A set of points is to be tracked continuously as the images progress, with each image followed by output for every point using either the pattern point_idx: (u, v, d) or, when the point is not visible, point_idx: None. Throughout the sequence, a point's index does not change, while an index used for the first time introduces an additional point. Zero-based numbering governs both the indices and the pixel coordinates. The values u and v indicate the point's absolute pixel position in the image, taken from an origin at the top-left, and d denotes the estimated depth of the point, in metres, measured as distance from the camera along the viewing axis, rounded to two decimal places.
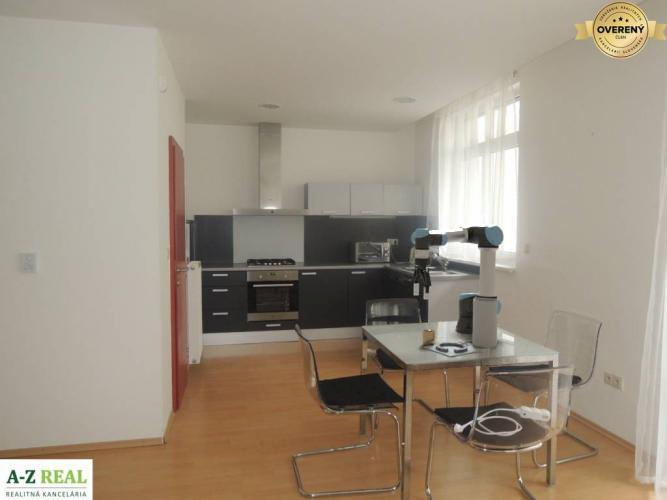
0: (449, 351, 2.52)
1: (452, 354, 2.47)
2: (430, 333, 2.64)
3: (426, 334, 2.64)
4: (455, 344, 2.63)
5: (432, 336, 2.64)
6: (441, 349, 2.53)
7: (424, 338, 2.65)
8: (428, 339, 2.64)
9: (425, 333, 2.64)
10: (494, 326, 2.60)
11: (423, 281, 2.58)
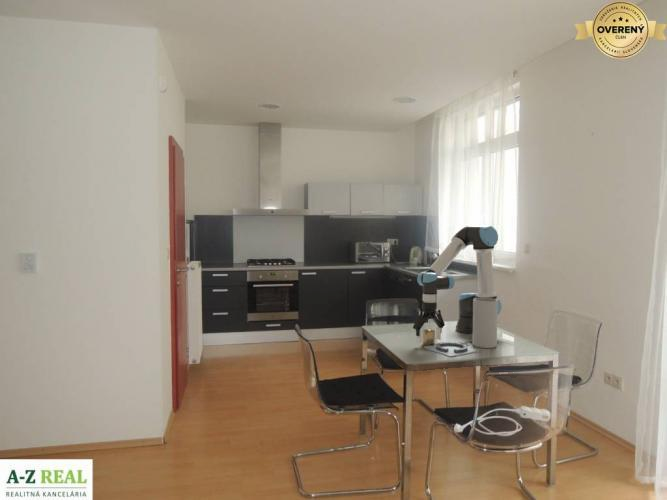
0: (449, 351, 2.52)
1: (452, 354, 2.47)
2: (430, 333, 2.64)
3: (426, 334, 2.64)
4: (455, 344, 2.63)
5: (432, 336, 2.64)
6: (441, 349, 2.53)
7: (424, 338, 2.65)
8: (428, 339, 2.64)
9: (425, 333, 2.64)
10: (494, 326, 2.60)
11: None
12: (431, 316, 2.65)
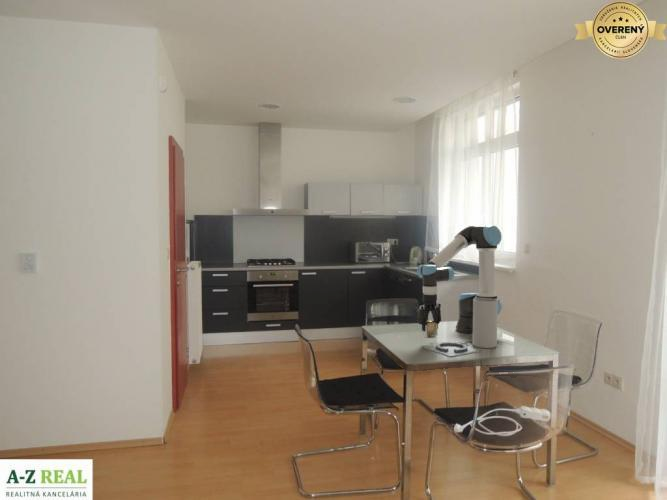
0: (449, 351, 2.52)
1: (452, 354, 2.47)
2: (431, 324, 2.64)
3: (427, 325, 2.64)
4: (455, 344, 2.63)
5: (433, 327, 2.64)
6: (441, 349, 2.53)
7: None
8: (429, 330, 2.64)
9: (426, 324, 2.64)
10: (494, 326, 2.60)
11: None
12: (432, 308, 2.65)
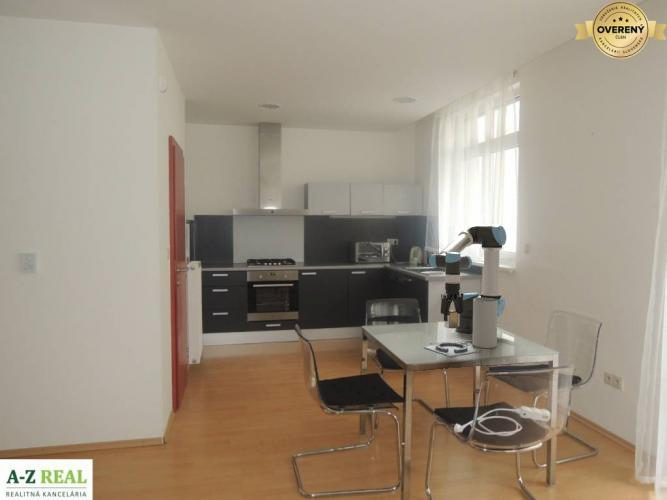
0: (449, 351, 2.52)
1: (452, 354, 2.47)
2: (453, 314, 2.53)
3: (449, 315, 2.54)
4: (455, 344, 2.63)
5: (455, 317, 2.54)
6: (441, 349, 2.53)
7: None
8: (451, 320, 2.54)
9: (448, 314, 2.54)
10: (494, 326, 2.60)
11: None
12: (454, 297, 2.55)
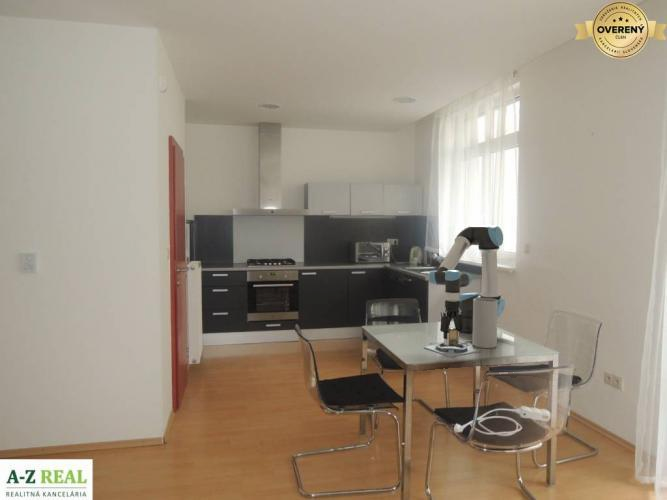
0: (449, 351, 2.52)
1: (452, 354, 2.47)
2: (453, 332, 2.54)
3: (449, 333, 2.55)
4: None
5: (455, 335, 2.55)
6: (441, 349, 2.53)
7: None
8: (451, 338, 2.54)
9: (448, 332, 2.55)
10: (494, 326, 2.60)
11: None
12: (454, 315, 2.56)
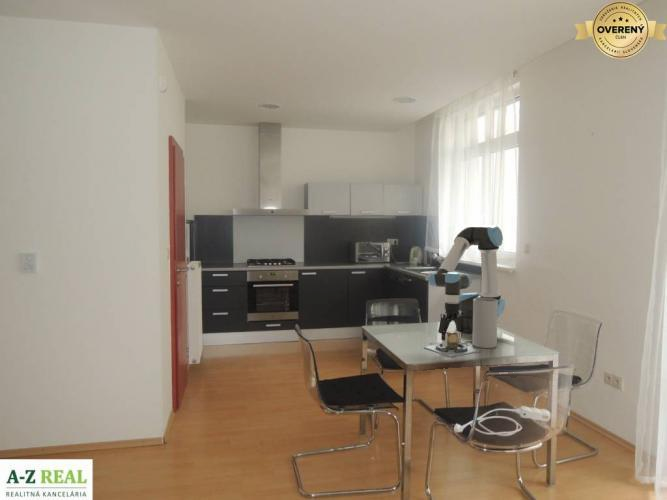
0: (449, 351, 2.52)
1: (452, 354, 2.47)
2: (453, 336, 2.54)
3: (449, 337, 2.55)
4: None
5: (455, 339, 2.55)
6: (441, 349, 2.53)
7: (447, 341, 2.56)
8: (451, 342, 2.55)
9: (448, 336, 2.55)
10: (494, 326, 2.60)
11: None
12: (454, 317, 2.56)
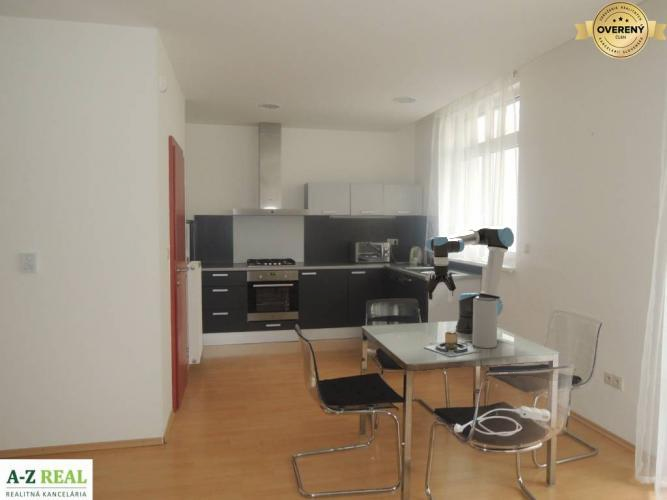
0: (449, 351, 2.52)
1: (452, 354, 2.47)
2: (453, 336, 2.54)
3: (449, 337, 2.55)
4: None
5: (455, 339, 2.55)
6: (441, 349, 2.53)
7: (447, 341, 2.56)
8: (451, 342, 2.55)
9: (448, 336, 2.55)
10: (494, 326, 2.60)
11: None
12: (443, 279, 2.66)
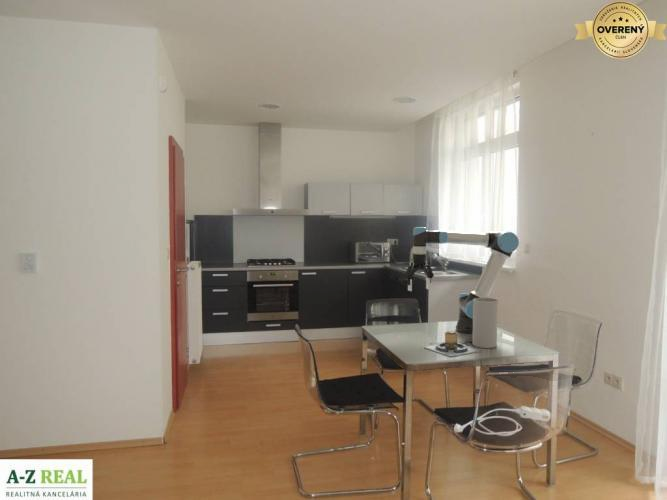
0: (449, 351, 2.52)
1: (452, 354, 2.47)
2: (453, 336, 2.54)
3: (449, 337, 2.55)
4: None
5: (455, 339, 2.55)
6: (441, 349, 2.53)
7: (447, 341, 2.56)
8: (451, 342, 2.54)
9: (448, 336, 2.55)
10: (494, 326, 2.60)
11: None
12: (421, 267, 2.87)
